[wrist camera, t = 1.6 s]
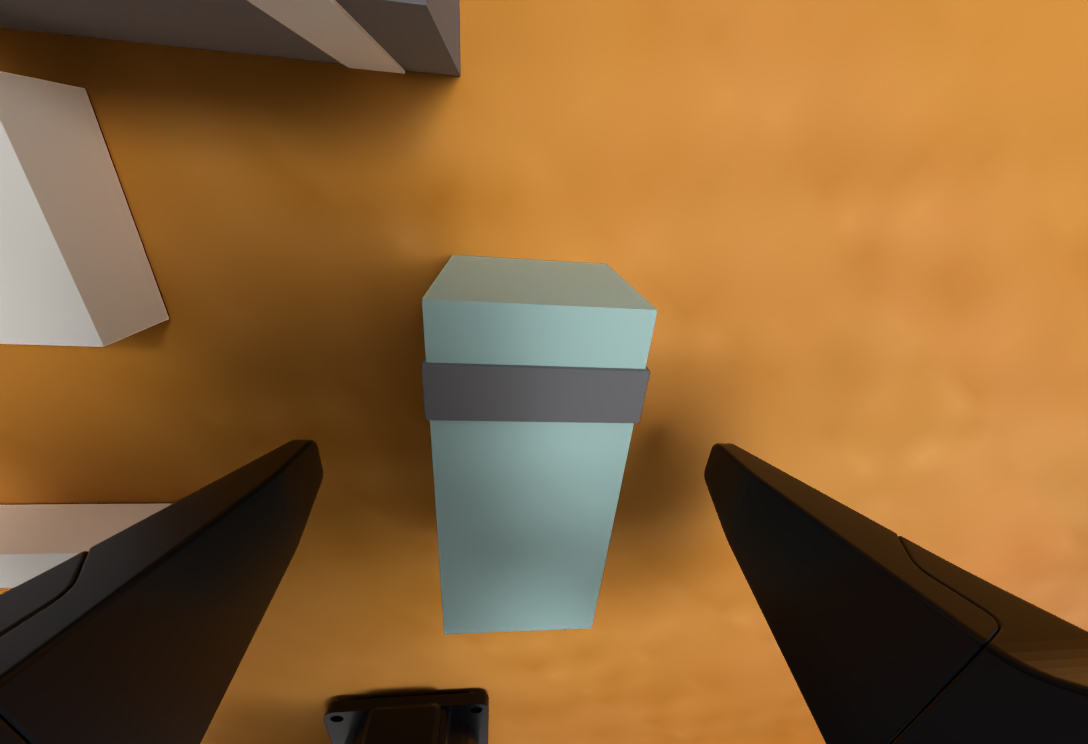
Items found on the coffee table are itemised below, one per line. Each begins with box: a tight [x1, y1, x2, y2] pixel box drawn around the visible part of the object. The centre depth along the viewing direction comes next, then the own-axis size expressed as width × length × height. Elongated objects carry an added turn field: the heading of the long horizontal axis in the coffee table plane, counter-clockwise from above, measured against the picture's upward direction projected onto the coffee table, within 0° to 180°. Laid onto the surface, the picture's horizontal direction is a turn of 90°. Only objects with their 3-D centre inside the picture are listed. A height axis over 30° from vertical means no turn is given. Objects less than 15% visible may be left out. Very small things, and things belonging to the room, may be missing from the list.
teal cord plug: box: [421, 255, 657, 634], centre depth 9 cm, size 4×8×4 cm, turn 176°
